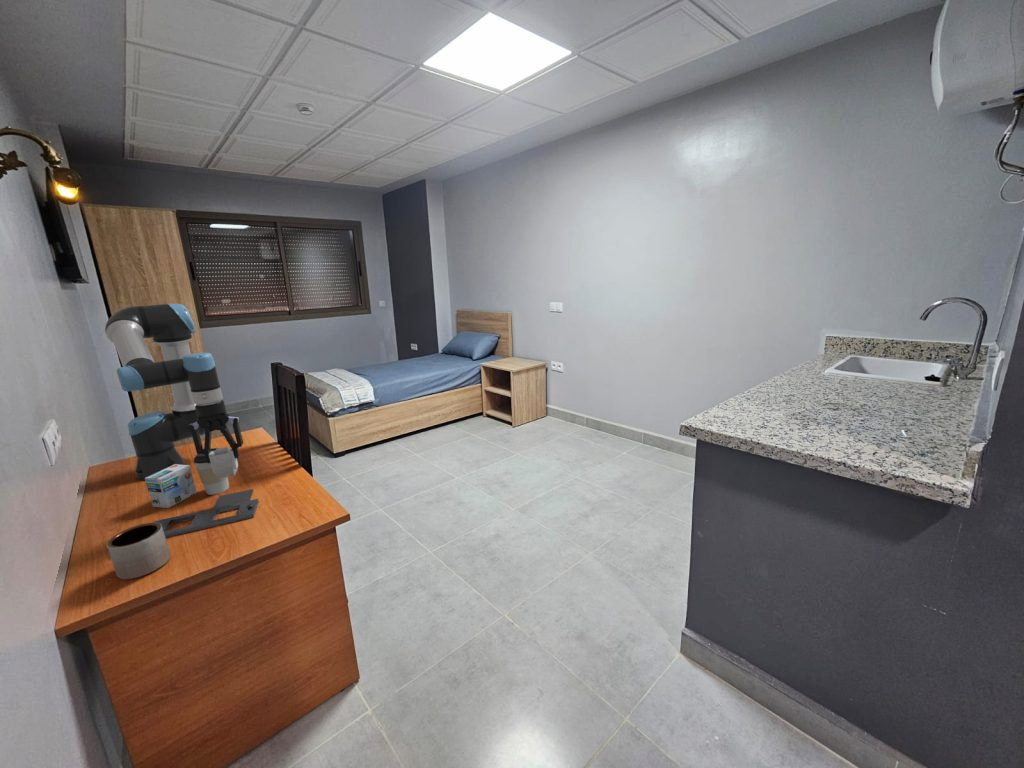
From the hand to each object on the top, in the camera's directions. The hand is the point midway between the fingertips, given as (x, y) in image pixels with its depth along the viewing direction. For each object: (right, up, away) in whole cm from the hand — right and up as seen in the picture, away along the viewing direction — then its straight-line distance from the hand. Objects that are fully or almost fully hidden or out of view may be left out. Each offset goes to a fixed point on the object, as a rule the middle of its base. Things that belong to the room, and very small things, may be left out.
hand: (226, 469), depth 135 cm
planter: (-2, -20, -27) cm, 34 cm away
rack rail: (-1, -14, -8) cm, 16 cm away
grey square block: (0, -2, 0) cm, 2 cm away
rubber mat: (0, -11, +3) cm, 12 cm away
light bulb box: (-21, -12, +6) cm, 25 cm away
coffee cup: (-11, -10, +11) cm, 18 cm away
